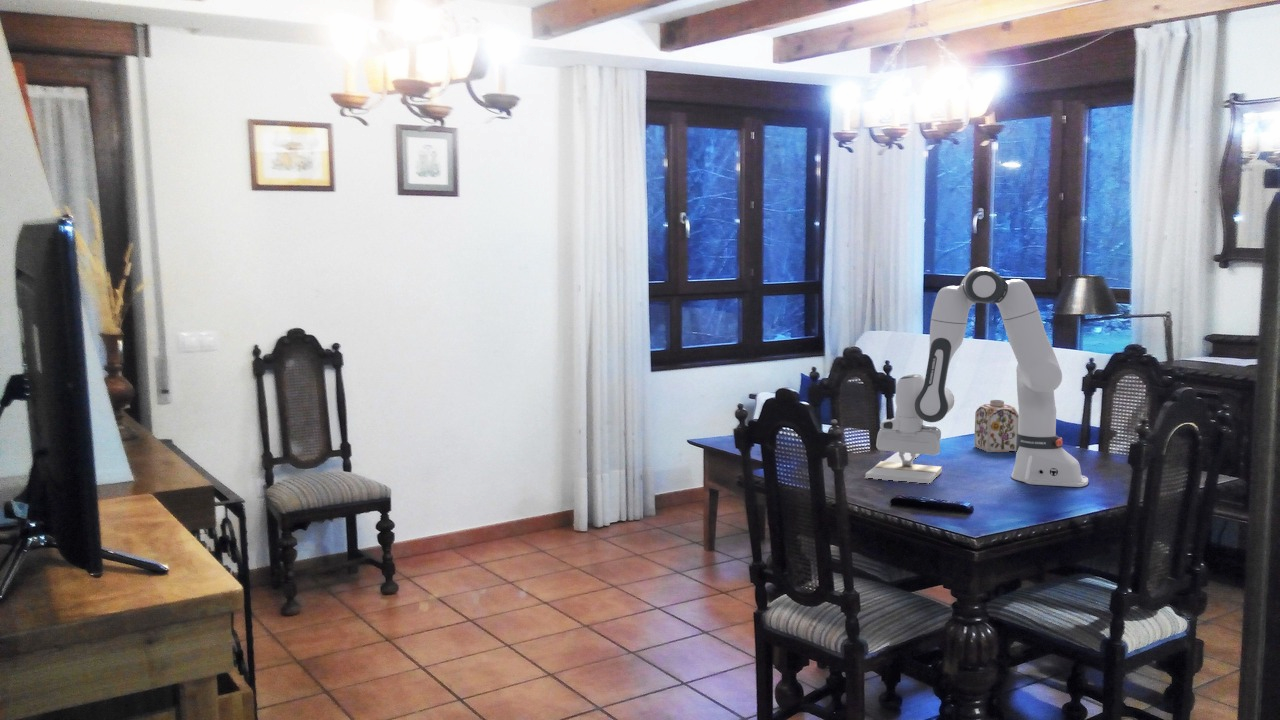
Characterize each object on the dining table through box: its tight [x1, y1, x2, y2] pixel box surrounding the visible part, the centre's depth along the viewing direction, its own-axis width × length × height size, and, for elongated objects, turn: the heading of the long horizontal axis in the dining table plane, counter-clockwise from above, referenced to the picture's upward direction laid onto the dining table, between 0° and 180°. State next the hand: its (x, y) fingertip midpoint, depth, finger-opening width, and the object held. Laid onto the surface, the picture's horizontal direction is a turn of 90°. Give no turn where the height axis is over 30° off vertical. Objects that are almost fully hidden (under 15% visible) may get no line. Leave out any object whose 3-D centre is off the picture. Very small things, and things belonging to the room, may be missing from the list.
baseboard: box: [883, 452, 920, 463], centre depth 359 cm, size 30×3×10 cm
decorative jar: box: [973, 399, 1019, 453], centre depth 373 cm, size 12×12×18 cm
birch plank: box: [873, 460, 943, 477], centre depth 336 cm, size 20×8×2 cm, turn 62°
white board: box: [864, 467, 937, 485], centre depth 328 cm, size 20×10×2 cm, turn 62°
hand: (907, 466), depth 337 cm, fingers closed, pressing on birch plank
